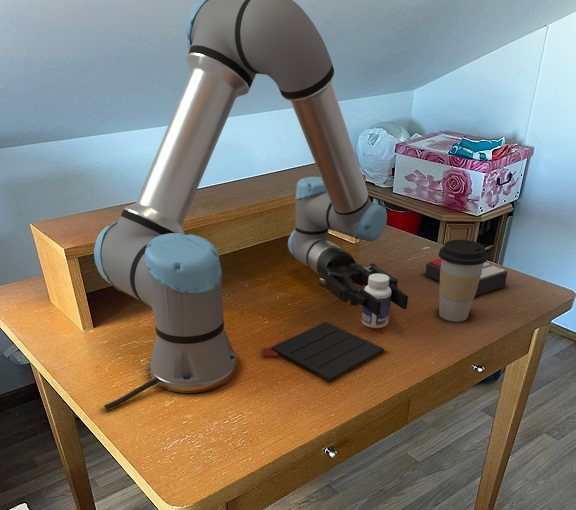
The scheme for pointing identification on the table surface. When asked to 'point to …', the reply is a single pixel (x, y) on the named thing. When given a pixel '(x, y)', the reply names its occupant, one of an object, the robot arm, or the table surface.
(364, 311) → the pill bottle
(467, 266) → the coffee cup
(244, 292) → the table surface
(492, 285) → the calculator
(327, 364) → the plate
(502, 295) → the table surface
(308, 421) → the table surface
